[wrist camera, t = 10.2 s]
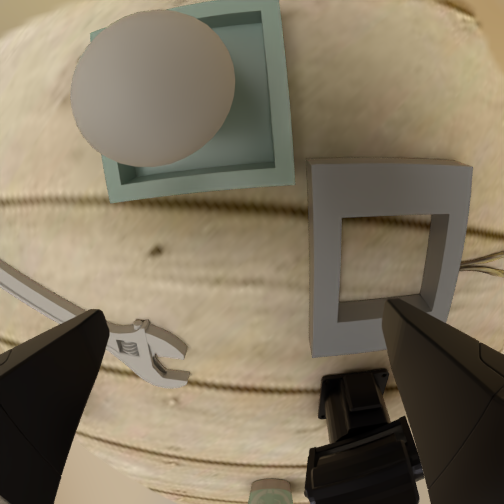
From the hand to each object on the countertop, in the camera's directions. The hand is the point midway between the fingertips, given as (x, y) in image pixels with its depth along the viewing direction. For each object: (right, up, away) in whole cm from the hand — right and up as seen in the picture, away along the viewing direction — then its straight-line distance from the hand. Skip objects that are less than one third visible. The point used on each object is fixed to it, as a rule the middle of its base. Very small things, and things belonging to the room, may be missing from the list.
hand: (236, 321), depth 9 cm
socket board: (+10, +2, +12) cm, 16 cm away
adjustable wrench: (-16, -3, +16) cm, 23 cm away
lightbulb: (-3, +11, +8) cm, 14 cm away
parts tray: (-3, +12, +9) cm, 15 cm away
